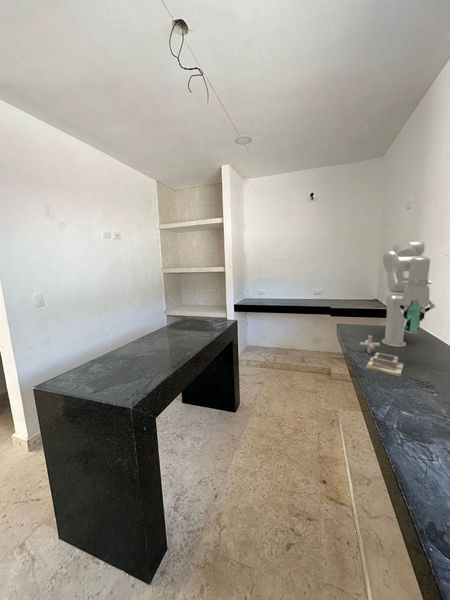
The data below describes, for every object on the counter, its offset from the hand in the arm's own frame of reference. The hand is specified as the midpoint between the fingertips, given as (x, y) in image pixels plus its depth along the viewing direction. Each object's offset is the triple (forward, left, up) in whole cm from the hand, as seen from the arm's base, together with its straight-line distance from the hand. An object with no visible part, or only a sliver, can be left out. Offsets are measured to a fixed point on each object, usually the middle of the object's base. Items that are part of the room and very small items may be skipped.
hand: (413, 319), depth 120 cm
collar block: (+11, -9, -24) cm, 28 cm away
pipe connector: (-5, -19, -24) cm, 31 cm away
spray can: (0, 0, -7) cm, 7 cm away
